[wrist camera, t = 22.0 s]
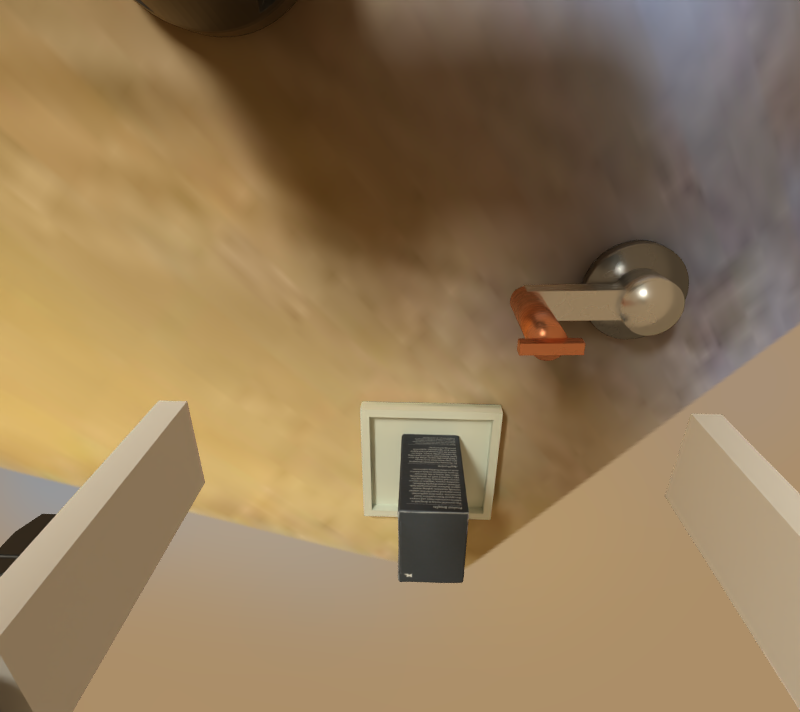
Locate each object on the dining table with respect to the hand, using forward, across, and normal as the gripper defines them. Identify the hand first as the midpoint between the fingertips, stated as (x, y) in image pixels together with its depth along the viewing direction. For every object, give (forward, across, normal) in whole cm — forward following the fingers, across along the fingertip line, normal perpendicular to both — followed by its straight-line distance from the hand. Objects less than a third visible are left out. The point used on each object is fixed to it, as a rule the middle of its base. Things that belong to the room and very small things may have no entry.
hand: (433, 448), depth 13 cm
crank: (+27, +13, -5) cm, 30 cm away
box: (+28, +1, -23) cm, 37 cm away
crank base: (+29, +17, -5) cm, 34 cm away
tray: (+29, +1, -23) cm, 37 cm away
